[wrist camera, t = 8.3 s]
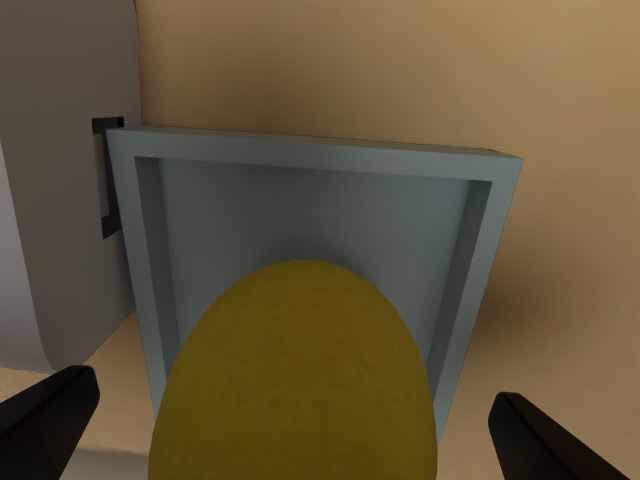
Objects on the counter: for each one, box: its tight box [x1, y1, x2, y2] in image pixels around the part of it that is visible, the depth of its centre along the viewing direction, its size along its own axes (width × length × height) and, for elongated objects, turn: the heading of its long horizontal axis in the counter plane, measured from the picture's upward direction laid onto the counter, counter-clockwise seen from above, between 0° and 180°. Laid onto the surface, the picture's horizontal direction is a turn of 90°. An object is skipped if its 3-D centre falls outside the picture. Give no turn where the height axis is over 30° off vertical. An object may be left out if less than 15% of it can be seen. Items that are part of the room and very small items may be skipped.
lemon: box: [148, 260, 437, 480], centre depth 7 cm, size 6×6×8 cm
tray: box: [105, 125, 524, 445], centre depth 11 cm, size 10×10×2 cm
